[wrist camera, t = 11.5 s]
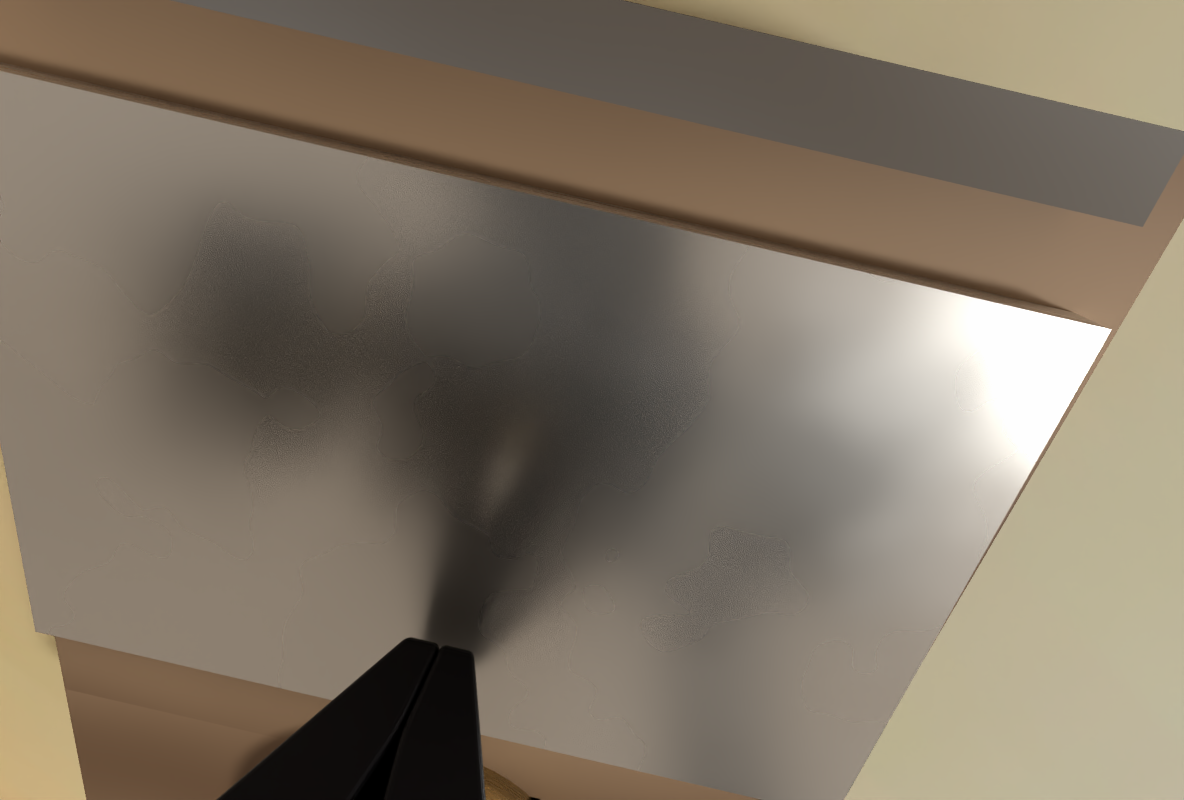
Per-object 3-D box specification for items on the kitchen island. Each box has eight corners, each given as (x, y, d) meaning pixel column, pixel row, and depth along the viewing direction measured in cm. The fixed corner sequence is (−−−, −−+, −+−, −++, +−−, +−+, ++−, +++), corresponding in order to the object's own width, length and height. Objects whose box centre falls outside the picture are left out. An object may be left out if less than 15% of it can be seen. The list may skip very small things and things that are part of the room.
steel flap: (823, 774, 9) (834, 816, 9) (72, 600, 9) (35, 631, 9) (1072, 311, 6) (1111, 329, 6) (-10, 60, 6) (-72, 53, 6)
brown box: (700, 812, 16) (716, 1090, 12) (227, 703, 16) (57, 938, 12) (1008, 128, 9) (1332, 149, 5) (193, -62, 9) (-244, -219, 5)
